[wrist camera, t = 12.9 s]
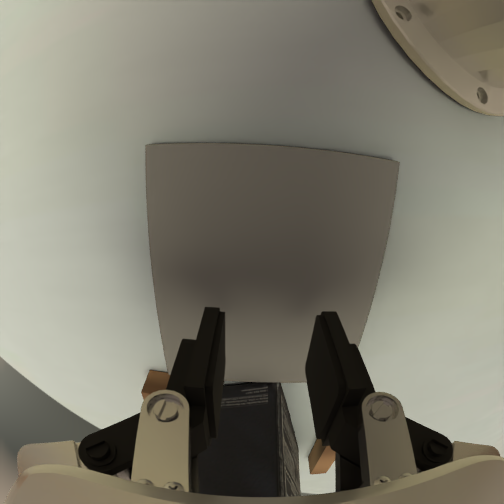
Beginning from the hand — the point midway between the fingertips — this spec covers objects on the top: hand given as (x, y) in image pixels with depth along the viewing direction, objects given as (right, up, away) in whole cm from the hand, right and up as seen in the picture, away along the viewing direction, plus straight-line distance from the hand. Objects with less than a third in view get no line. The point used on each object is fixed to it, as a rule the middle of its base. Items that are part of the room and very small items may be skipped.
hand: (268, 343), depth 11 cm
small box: (-1, -9, +8) cm, 13 cm away
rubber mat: (0, +2, +3) cm, 4 cm away
